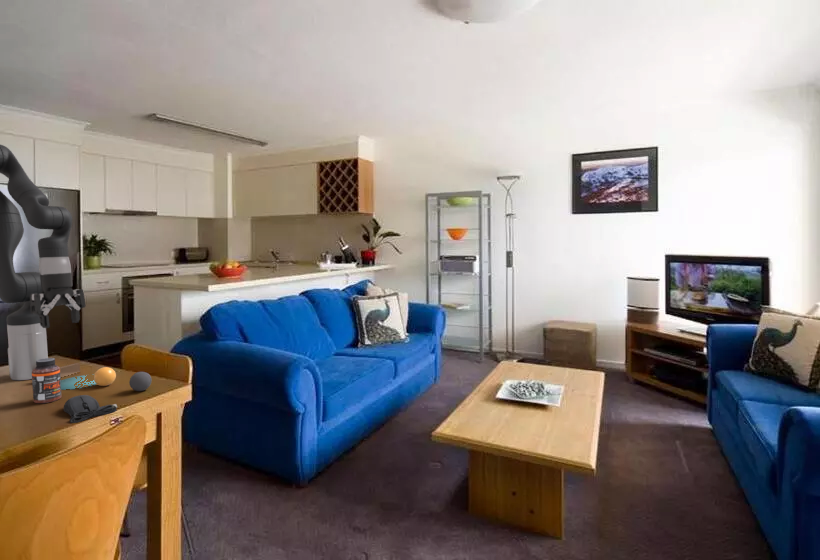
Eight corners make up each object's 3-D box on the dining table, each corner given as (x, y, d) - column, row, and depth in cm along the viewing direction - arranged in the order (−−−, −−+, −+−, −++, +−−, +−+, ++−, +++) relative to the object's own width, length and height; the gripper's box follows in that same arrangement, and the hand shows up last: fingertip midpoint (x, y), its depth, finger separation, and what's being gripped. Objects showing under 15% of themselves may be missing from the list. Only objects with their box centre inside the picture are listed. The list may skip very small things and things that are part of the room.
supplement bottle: (45, 405, 117) (42, 363, 116) (27, 403, 118) (24, 361, 117) (67, 397, 123) (64, 357, 122) (49, 395, 124) (47, 356, 123)
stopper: (36, 383, 135) (36, 373, 134) (76, 372, 146) (76, 363, 146) (40, 383, 134) (39, 373, 134) (80, 372, 146) (79, 363, 145)
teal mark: (40, 386, 131) (40, 386, 131) (87, 373, 145) (87, 372, 145) (74, 391, 127) (74, 391, 127) (119, 377, 140) (119, 377, 140)
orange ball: (89, 387, 131) (88, 369, 131) (107, 381, 136) (106, 364, 136) (103, 389, 129) (102, 371, 129) (120, 383, 135) (119, 365, 134)
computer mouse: (96, 400, 122) (96, 387, 121) (119, 413, 113) (118, 398, 113) (51, 412, 114) (50, 397, 113) (72, 426, 105) (71, 410, 105)
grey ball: (125, 392, 127) (124, 373, 126) (142, 386, 132) (141, 368, 131) (139, 394, 125) (138, 375, 125) (156, 388, 130) (155, 370, 130)
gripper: (71, 271, 142) (76, 321, 143) (20, 274, 129) (26, 329, 130) (88, 270, 140) (92, 321, 141) (38, 273, 126) (44, 329, 127)
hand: (61, 325), depth 135 cm, fingers open, 8 cm apart
